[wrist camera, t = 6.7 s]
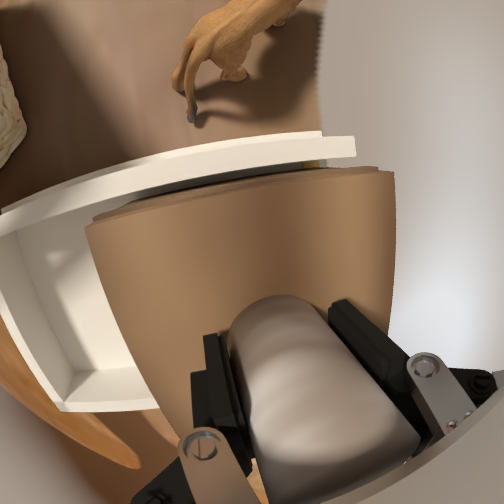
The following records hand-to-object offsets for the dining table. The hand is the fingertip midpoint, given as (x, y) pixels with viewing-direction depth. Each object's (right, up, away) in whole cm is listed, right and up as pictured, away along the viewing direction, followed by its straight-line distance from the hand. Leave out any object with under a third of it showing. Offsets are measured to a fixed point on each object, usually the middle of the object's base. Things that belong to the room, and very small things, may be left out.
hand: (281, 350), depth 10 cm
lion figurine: (-2, +19, +5) cm, 20 cm away
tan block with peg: (-2, +3, +8) cm, 9 cm away
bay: (-7, +2, +9) cm, 11 cm away
